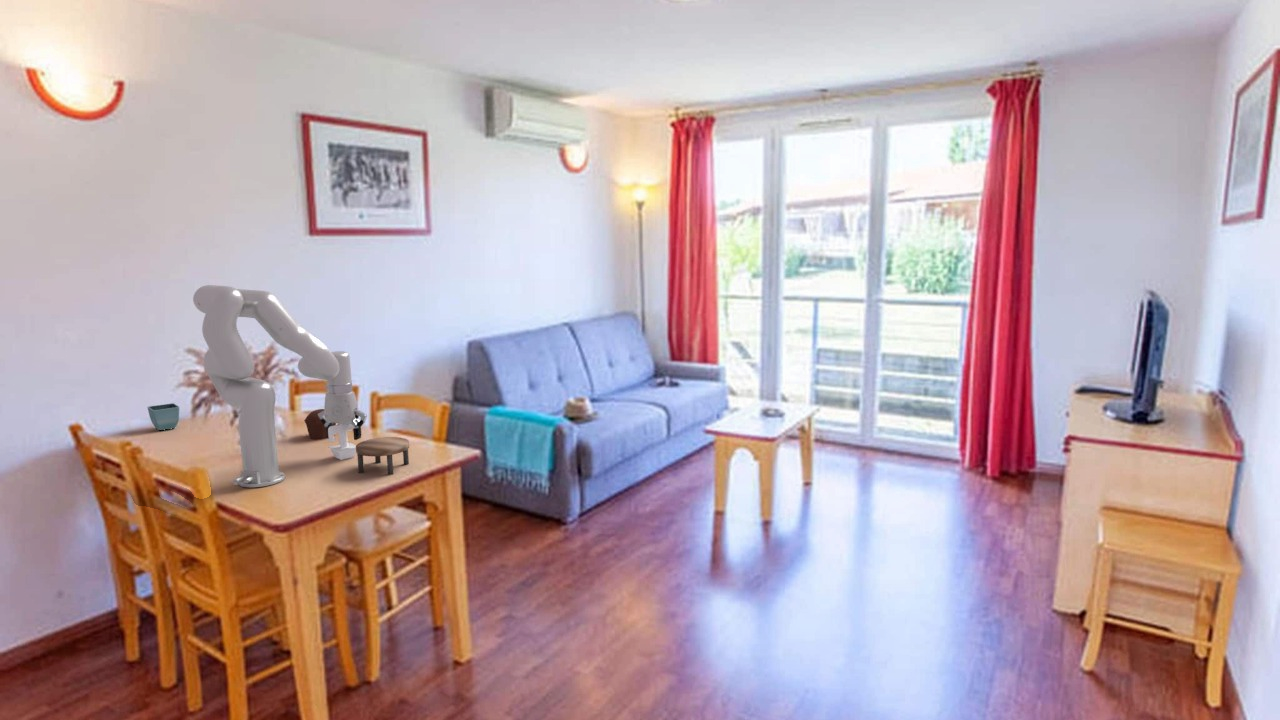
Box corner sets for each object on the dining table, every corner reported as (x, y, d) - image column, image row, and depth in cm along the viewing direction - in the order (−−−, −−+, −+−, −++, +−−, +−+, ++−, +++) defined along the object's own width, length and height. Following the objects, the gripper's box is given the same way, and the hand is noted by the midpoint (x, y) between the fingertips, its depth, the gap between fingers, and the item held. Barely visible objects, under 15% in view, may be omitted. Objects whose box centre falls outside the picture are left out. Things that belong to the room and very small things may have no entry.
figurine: (325, 458, 235) (322, 414, 233) (353, 452, 242) (350, 409, 240) (335, 462, 231) (332, 418, 228) (363, 456, 237) (360, 413, 235)
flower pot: (182, 429, 271) (179, 406, 269) (155, 433, 264) (152, 410, 263) (176, 425, 277) (173, 402, 275) (149, 429, 270) (146, 406, 269)
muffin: (333, 440, 257) (331, 413, 255) (301, 441, 255) (299, 414, 253) (342, 431, 268) (340, 406, 266) (311, 432, 267) (309, 407, 265)
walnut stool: (394, 477, 216) (393, 452, 215) (347, 474, 219) (345, 449, 218) (419, 461, 232) (417, 438, 231) (374, 459, 235) (373, 436, 233)
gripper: (309, 390, 230) (314, 440, 233) (357, 392, 227) (361, 442, 231) (323, 385, 238) (327, 433, 241) (370, 387, 235) (374, 436, 238)
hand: (344, 438), depth 236 cm, fingers open, 9 cm apart
